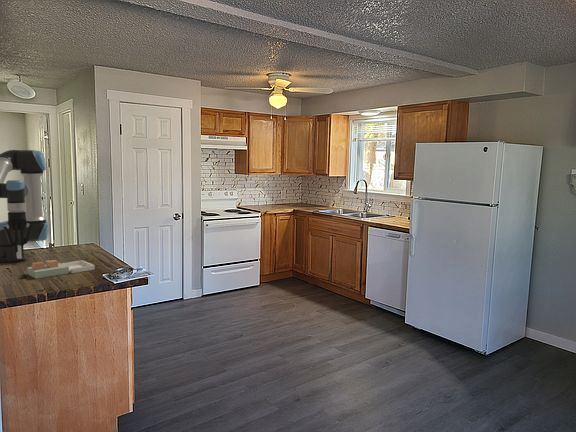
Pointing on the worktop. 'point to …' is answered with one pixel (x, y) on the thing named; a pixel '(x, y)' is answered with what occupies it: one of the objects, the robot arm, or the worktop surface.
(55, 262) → the tile far
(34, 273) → the board
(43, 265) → the tile near
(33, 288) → the worktop surface
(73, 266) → the tray
